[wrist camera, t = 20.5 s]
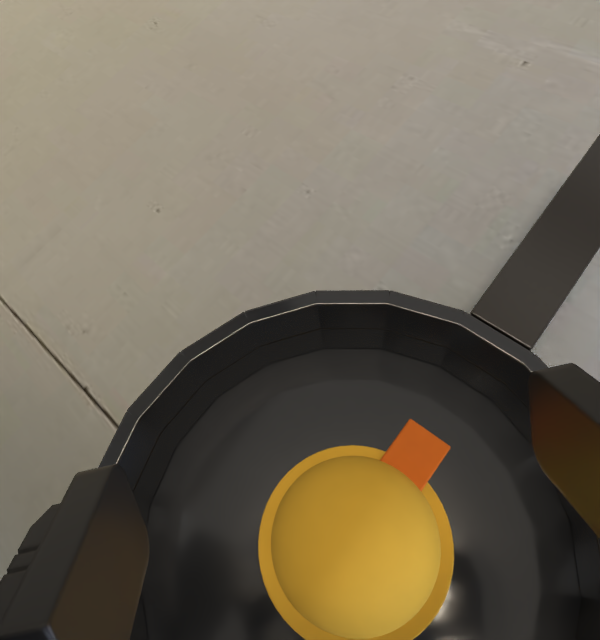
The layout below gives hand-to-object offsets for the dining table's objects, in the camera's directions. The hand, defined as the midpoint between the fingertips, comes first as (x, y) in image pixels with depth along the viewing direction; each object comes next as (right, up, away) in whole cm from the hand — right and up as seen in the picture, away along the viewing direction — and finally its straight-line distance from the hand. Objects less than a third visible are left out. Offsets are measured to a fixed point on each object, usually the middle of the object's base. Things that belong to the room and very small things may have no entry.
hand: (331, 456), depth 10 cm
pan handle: (+10, +6, +11) cm, 16 cm away
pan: (+1, -6, +10) cm, 12 cm away
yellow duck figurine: (+1, -6, +10) cm, 11 cm away
